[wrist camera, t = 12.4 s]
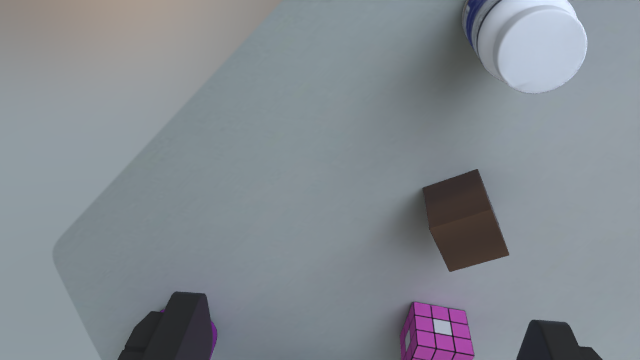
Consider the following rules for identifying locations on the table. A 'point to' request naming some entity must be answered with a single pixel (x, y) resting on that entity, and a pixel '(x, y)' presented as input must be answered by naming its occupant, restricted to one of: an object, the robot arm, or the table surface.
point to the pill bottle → (526, 41)
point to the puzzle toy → (435, 334)
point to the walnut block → (463, 221)
